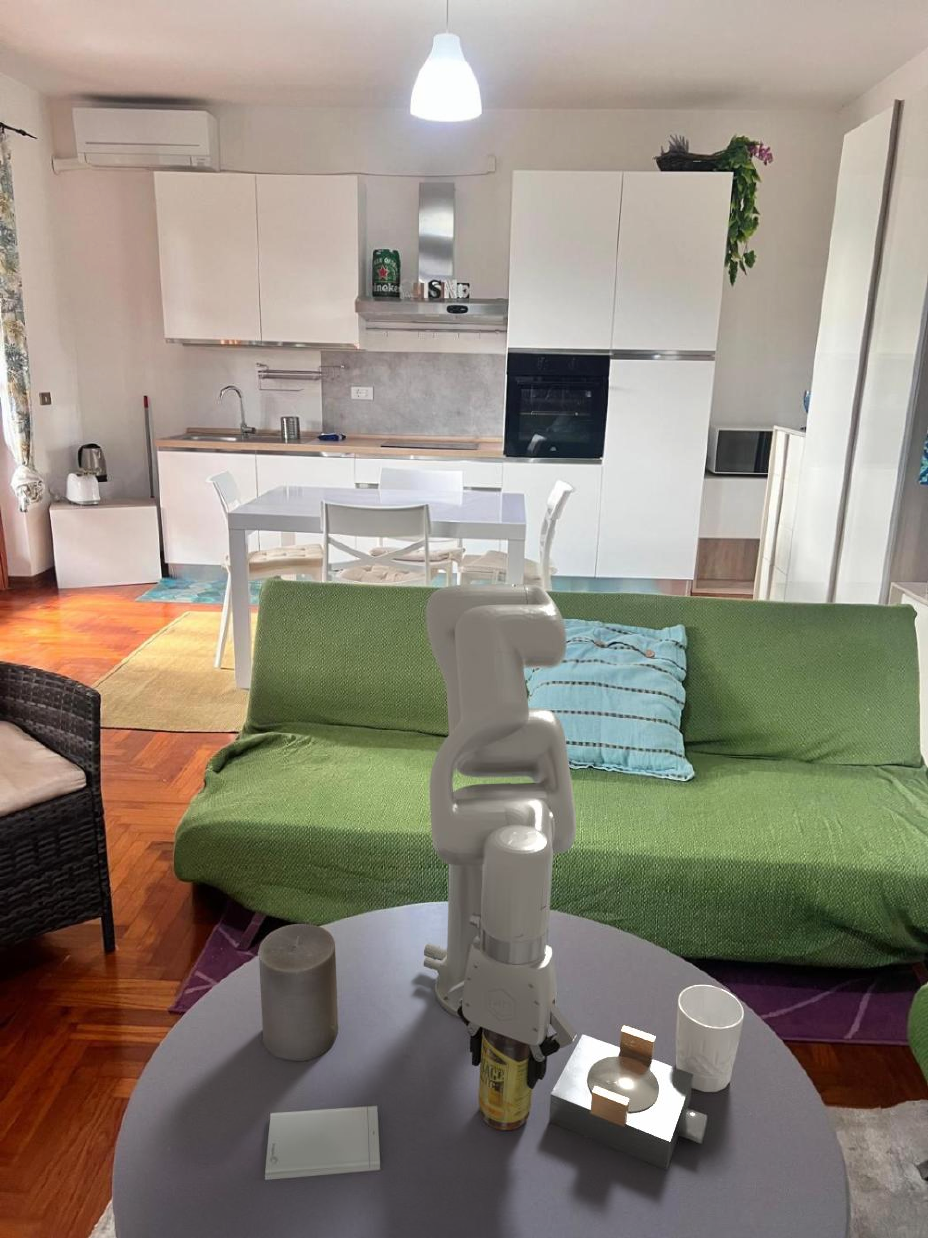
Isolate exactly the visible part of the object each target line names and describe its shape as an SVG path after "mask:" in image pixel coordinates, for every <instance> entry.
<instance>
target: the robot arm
mask: <svg viewBox="0 0 928 1238" xmlns="http://www.w3.org/2000/svg"><path fill="white" fill-rule="evenodd" d="M425 614H426V615H425V617H426V627H427V628H426V629H427V635H428V639H429V644H430V648H431V651H432V653H433V656H434V658H435V662H436V663H437V665H438V668H439V671H440V672H441V673H440V674H441V675H442V678H443V681H444V684H445V690H446V702H447V703H446V704H447V707H446V708H447V718H448V719H447V721H448V735H447V737H446V738H445V740H444V741H443V742H442V744H441V745H440V747H439V749H438V751H437V753H436V755H435V757H434V760H433V764H432V767H431V770H430V771H431V772H430V777H429V805H430V806H429V807H430V826H431V827H430V829H431V839H432V845H433V849H434V851H435V854H436V855H437V857H438V858H439V859H440V860H441V861H442V862H443V863H444V864H446V865H448V905H447V907H448V908H447V909H448V910H447V935H446V936H447V939H446V945H447V946H446V948H443V947H441V946H440V945H436V944H434V943H430V942H427V943H426V945H425V947H424V950H423V955H424V957H425V959H424V960H423V967H425V968H427V969H431V970H435V971H436V972H437V975H436V979H435V983H434V992H435V993H434V994H435V997H436V1000H437V1001H438V1004H440V1006H441V1007H442V1008H443V1009H445V1010H446V1011H447V1012H448V1013H450V1014H452V1015H453V1016H455V1017H458V1018H459V1019H461V1020H462V1022H463V1023H464V1024H465V1026H466V1029H465V1030H466V1033H467V1034H468V1035H469V1036H470V1037H469V1052H470V1053H471V1065H472V1066H474V1067H480V1063H481V1047H482V1032H483V1028H486V1029H488V1030H491V1031H494V1032H496V1033H499V1034H501V1035H504V1036H507V1037H509V1038H512V1039H515V1040H518V1041H520V1042H523V1043H526V1044H529V1045H530V1048H531V1051H532V1054H531V1056H530V1058H529V1061H528V1076H527V1086H528V1087H529V1088H531V1089H532V1090H533V1089H535V1086H536V1084H537V1083H538V1081H539V1080H540V1081H542V1080H543V1079H544V1078H545V1076H546V1072H547V1067H548V1057H549V1056H551V1055H553V1054H556V1053H558V1052H559V1050H560V1049H563V1048H566V1047H567V1046H569V1045H571V1044H573V1042H574V1040H575V1038H576V1037H577V1032H576V1031H575V1029H574V1028H573V1026H572V1024H571V1023H570V1022H569V1021H568V1020H567V1018H566V1017H565V1016H564V1015H563V1013H562V1012H561V1011H560V1010H559V1007H558V992H557V991H558V988H557V986H558V985H557V973H556V972H557V971H556V965H555V959H554V953H553V949H552V947H551V946H549V945H548V940H549V939H548V938H549V928H550V927H549V924H550V911H551V895H552V894H551V893H552V892H551V891H552V879H553V863H554V862H553V861H554V855H560V854H563V853H565V852H568V851H569V850H570V849H571V848H572V846H573V845H574V842H575V841H576V834H577V819H576V818H577V817H576V816H577V815H576V808H575V800H574V795H573V794H574V793H573V792H574V791H573V786H572V785H573V784H572V777H571V769H570V763H569V755H568V753H569V752H568V747H567V746H568V745H567V741H566V735H565V731H564V728H563V725H562V723H561V721H560V719H559V717H558V716H557V715H556V714H555V713H554V712H553V711H551V710H548V709H545V708H541V707H540V708H538V707H529V703H528V702H529V701H528V694H527V685H526V680H525V679H526V678H525V669H553V668H556V667H558V666H559V665H561V664H562V662H563V660H564V659H565V656H566V652H567V632H566V627H565V623H564V619H563V616H562V614H561V612H560V609H559V608H558V606H557V605H556V603H555V601H554V600H553V599H552V597H551V596H550V595H549V594H548V592H547V591H546V590H545V589H544V588H543V587H541V586H539V585H538V584H537V585H536V584H525V583H523V584H519V583H518V584H517V583H516V584H514V583H511V584H510V583H509V584H507V583H506V584H505V583H503V584H491V583H488V584H487V583H478V584H477V583H476V584H472V583H471V584H468V583H467V584H465V583H464V584H456V585H455V584H454V585H448V586H444V587H441V588H439V589H437V590H434V592H433V593H431V595H430V596H429V598H428V600H427V604H426V612H425ZM456 771H457V773H458V774H460V775H462V776H465V777H468V778H480V779H481V778H485V779H486V778H491V779H493V778H494V779H495V778H496V779H497V778H529V779H530V780H531V781H532V782H523V783H520V782H518V783H517V782H515V783H510V782H504V783H503V782H502V783H499V782H498V783H479V784H470V785H466V786H462V787H459V788H457V789H455V790H454V785H453V784H454V776H455V772H456ZM550 1026H551V1027H552V1029H554V1031H555V1032H556V1033H554V1034H552V1035H550V1032H549V1027H550Z"/></svg>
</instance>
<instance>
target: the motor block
mask: <svg viewBox="0 0 928 1238" xmlns="http://www.w3.org/2000/svg"><path fill="white" fill-rule="evenodd" d="M619 1041H620V1044H619V1046H615V1045H613V1044H612V1043H608V1042H605V1041H602V1040H599V1039H596V1038H594V1037H592V1036H588V1035H587V1034H582V1035H581V1036H580V1039H579V1041H578V1043H577V1044H576V1046H575V1048H574V1050H573V1052H572V1054H571V1056H570V1057H569V1059H568V1061H567V1063H566V1065H565V1066H564V1069H563V1071H562V1073H561V1074H560V1076H559V1078H558V1080H557V1081H556V1084H555V1085H554V1087H553V1089H552V1090H551V1092H550V1099H549V1100H550V1101H549V1115H548V1122H549V1123H551V1124H553V1125H556V1126H558V1127H561V1128H563V1129H566V1130H567V1131H568V1130H569V1131H570V1132H573V1133H575V1134H578V1135H580V1136H582V1137H585V1138H588V1139H590V1140H593V1141H595V1142H597V1143H600V1144H602V1145H604V1146H606V1147H609V1148H612V1149H614V1150H617V1151H619V1152H621V1153H623V1154H626V1155H629V1156H631V1157H634V1158H636V1159H638V1160H641V1161H643V1162H646V1163H649V1164H651V1165H653V1166H655V1167H658V1168H660V1169H663V1170H665V1171H667V1170H668V1167H669V1165H670V1162H671V1158H672V1156H673V1153H674V1150H675V1146H676V1144H677V1141H678V1138H679V1136H681V1137H682V1138H685V1139H688V1140H690V1141H692V1142H696V1143H699V1144H702V1142H703V1140H704V1136H705V1132H706V1128H707V1121H708V1115H707V1114H704V1113H703V1112H699V1111H696V1110H694V1109H692V1108H689V1105H690V1103H691V1096H692V1089H693V1088H692V1081H693V1074H691V1073H688V1072H685V1071H683V1070H680V1069H677V1068H676V1067H674V1066H672V1065H668V1064H666V1063H663V1062H660V1061H659V1060H655V1059H654V1058H655V1057H654V1055H655V1046H656V1035H655V1036H654V1035H652V1034H650V1033H647V1032H644V1031H642V1030H638V1029H635V1028H632V1027H630V1026H626V1025H623V1026H622V1028H621V1032H620V1040H619Z"/></svg>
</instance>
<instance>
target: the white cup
mask: <svg viewBox="0 0 928 1238" xmlns="http://www.w3.org/2000/svg"><path fill="white" fill-rule="evenodd" d="M744 1010H745V1009H744V1008H743V1005H742V1004H741V1002H740V1000H739V999H737V997H735V996H734V995H733V994H732V993H730V992H729V991H726V990H725V989H722V988H721V987H717V986H713V985H708V984H697V985H696V984H695V985H691V986H689V987H686V988H685V989H683V990H682V991H681V992H680V993H679V995H678V999H677V1012H676V1013H677V1015H676V1029H675V1031H676V1034H675V1052H676V1055H675V1068H677V1069H680V1070H683V1071H685V1072H688V1073H691V1074H693V1081H692V1089H695V1090H697V1091H701V1092H704V1093H717V1092H719V1091H721V1090H722V1091H723V1089H726V1088H727V1086H728V1084H729V1083H730V1081H731V1078H732V1072H733V1068H734V1063H735V1061H736V1057H737V1052H738V1048H739V1042H740V1039H741V1038H740V1036H741V1031H742V1026H743V1021H744V1016H745V1013H744V1012H745V1011H744Z"/></svg>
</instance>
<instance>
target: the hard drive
mask: <svg viewBox="0 0 928 1238" xmlns="http://www.w3.org/2000/svg"><path fill="white" fill-rule="evenodd" d="M378 1111H379V1110H378V1105H371V1106H356V1107H344V1108H343V1107H339V1108H323V1109H311V1110H298V1111H297V1110H296V1111H283V1112H282V1111H281V1112H270V1116H269V1124H268V1125H269V1126H268V1135H267V1144H266V1145H267V1146H266V1157H265V1158H266V1159H265V1167H264V1169H265V1171H264V1180H266V1181H268V1180H279V1179H290V1178H300V1177H303V1178H305V1177H313V1176H324V1175H335V1174H345V1173H346V1174H347V1173H348V1174H349V1173H358V1172H370V1171H371V1172H372V1171H379V1170H381V1157H380V1153H381V1152H380V1131H379V1113H378Z"/></svg>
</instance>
